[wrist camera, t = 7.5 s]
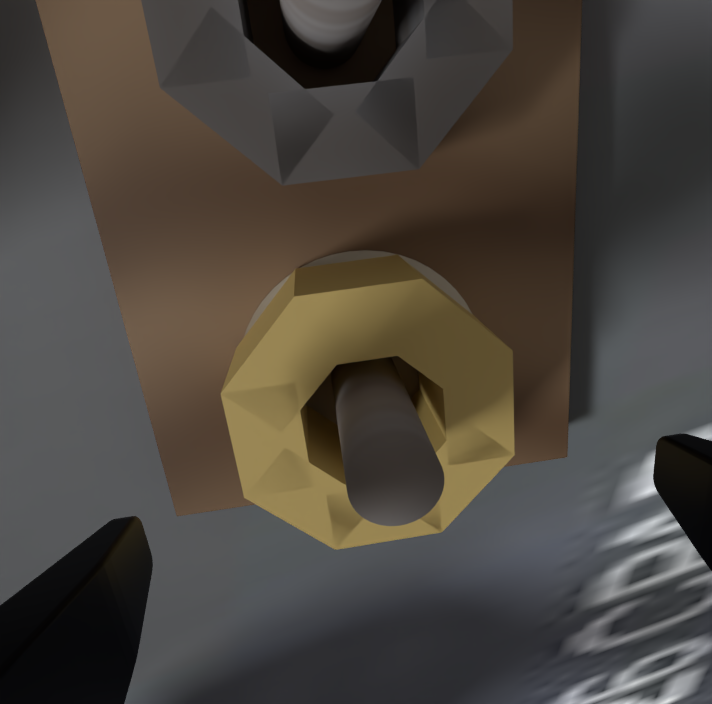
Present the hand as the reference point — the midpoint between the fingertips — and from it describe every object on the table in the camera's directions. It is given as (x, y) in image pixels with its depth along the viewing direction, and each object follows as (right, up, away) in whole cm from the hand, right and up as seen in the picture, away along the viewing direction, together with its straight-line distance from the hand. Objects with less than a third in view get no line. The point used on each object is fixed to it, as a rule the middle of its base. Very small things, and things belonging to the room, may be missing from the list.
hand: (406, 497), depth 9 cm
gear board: (-1, +6, +6) cm, 9 cm away
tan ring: (-1, +2, +6) cm, 6 cm away
